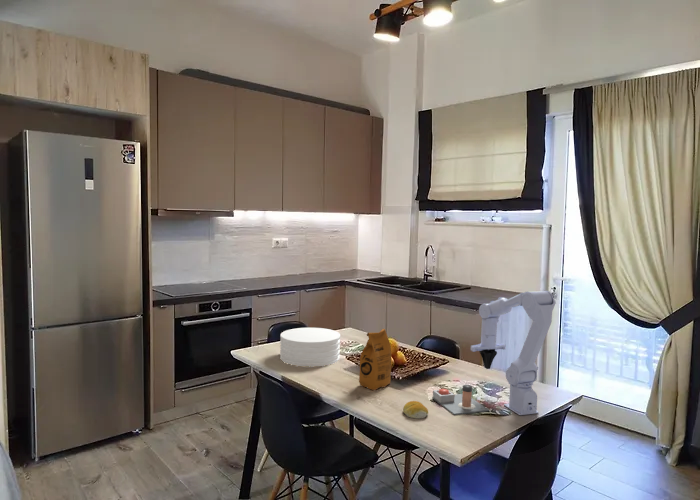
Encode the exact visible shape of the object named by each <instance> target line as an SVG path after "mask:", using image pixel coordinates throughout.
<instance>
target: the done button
mask: <svg viewBox="0 0 700 500" xmlns="http://www.w3.org/2000/svg"><path fill="white" fill-rule="evenodd" d="M438 390H439V394H441V395H447V394H449V391H450V390H449V389H447V388H439V389H438Z"/></svg>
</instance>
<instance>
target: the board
mask: <svg viewBox="0 0 700 500" xmlns="http://www.w3.org/2000/svg"><path fill="white" fill-rule="evenodd" d="M462 394H463V393H457V394H454V392H451V390H449V394H447V395H441V394H439V389H435V390H432V398H431V399H433V400H434V401H436V402H437V403H438V404H439V405H441V406H442V407H443V408H444V409H445V410H447V411H448V412H449V413H450V414H452V415H453V416H458V415H459V416H460V415H467V414H476V413H482V412H483V413H484V412H490V409H489V408H487V407H486V406H484V404H481V402H478V401H477V400H476V399H474V398H473V397H472V398H471V407H464V406H462Z"/></svg>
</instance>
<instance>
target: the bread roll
mask: <svg viewBox="0 0 700 500" xmlns="http://www.w3.org/2000/svg"><path fill="white" fill-rule="evenodd" d="M402 412H403V414H404V415H405V416H406V417H408V418H411V419H424V418H426V417H427V416H428V415H429V409H428V408H427V407H426V406H425V405H424V404H423V403H422V402H420V401H418V400H417V401H416V400H411V401H408V402H406V403H405V404H404V405H403V408H402Z"/></svg>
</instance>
